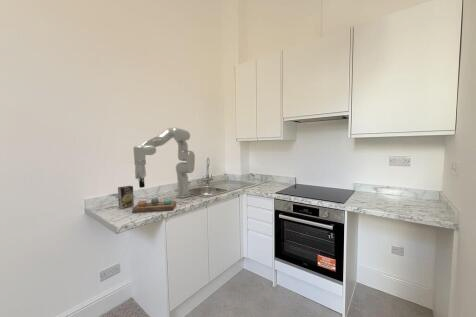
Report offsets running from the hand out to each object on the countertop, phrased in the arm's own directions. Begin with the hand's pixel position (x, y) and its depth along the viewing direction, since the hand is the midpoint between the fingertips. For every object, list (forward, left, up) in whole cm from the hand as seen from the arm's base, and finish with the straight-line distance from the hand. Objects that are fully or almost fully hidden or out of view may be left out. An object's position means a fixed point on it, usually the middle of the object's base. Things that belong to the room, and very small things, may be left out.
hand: (142, 187), depth 154 cm
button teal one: (0, +18, -14) cm, 22 cm away
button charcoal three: (0, +9, -12) cm, 15 cm away
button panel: (0, +9, -17) cm, 19 cm away
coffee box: (-10, -15, -17) cm, 25 cm away
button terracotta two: (0, 0, -14) cm, 14 cm away
